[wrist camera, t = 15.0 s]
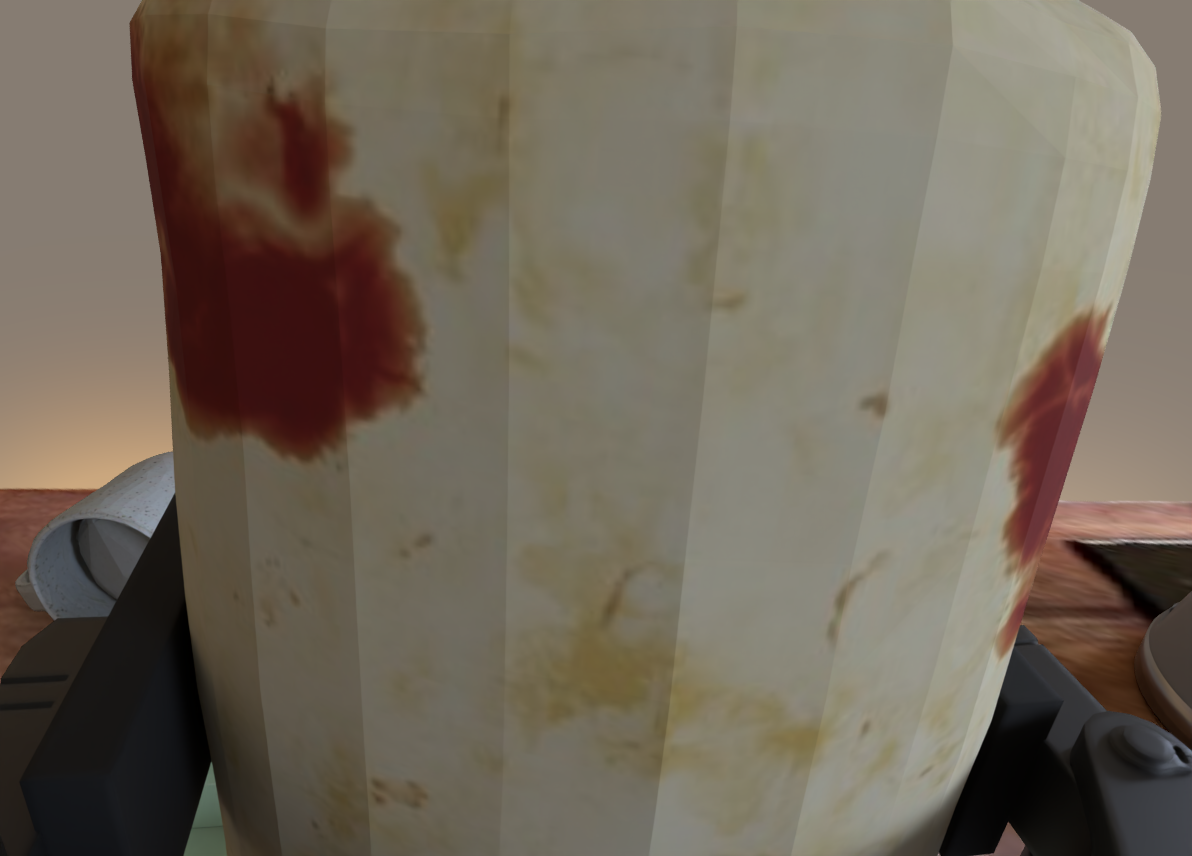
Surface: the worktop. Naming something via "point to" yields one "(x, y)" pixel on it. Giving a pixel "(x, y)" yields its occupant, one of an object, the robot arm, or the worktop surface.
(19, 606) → the worktop surface
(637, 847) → the food model
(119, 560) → the ceramic mug
